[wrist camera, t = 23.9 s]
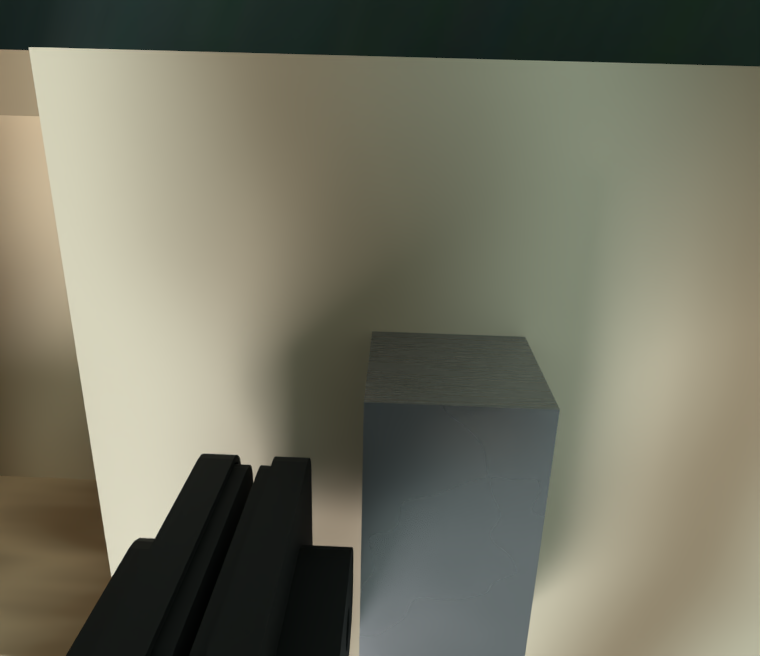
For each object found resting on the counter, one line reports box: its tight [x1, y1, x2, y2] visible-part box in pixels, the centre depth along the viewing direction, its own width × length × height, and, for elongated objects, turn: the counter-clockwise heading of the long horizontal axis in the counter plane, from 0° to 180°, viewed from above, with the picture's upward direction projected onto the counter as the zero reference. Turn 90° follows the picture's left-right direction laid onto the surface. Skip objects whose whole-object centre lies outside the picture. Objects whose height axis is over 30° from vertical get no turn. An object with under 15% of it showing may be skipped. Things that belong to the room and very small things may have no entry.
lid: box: [29, 47, 760, 656], centre depth 11 cm, size 20×14×4 cm
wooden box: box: [0, 49, 112, 656], centre depth 17 cm, size 20×14×8 cm
